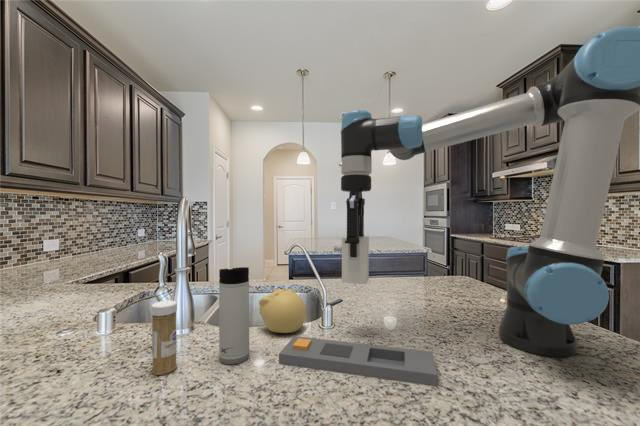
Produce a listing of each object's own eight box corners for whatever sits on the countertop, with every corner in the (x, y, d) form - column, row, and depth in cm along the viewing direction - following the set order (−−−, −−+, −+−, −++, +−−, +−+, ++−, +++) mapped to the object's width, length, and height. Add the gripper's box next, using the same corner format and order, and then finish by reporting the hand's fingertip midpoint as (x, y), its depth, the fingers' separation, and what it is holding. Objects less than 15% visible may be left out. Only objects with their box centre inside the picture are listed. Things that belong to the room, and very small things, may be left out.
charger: (368, 279, 76) (368, 236, 76) (366, 284, 72) (366, 238, 72) (336, 277, 79) (336, 235, 79) (332, 281, 74) (332, 237, 74)
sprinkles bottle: (173, 374, 58) (173, 305, 58) (148, 377, 57) (147, 307, 57) (179, 362, 63) (179, 298, 63) (155, 365, 62) (155, 300, 62)
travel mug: (222, 368, 60) (222, 269, 60) (217, 355, 66) (216, 264, 66) (252, 361, 63) (252, 267, 63) (245, 349, 69) (245, 262, 69)
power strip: (432, 366, 61) (432, 347, 61) (437, 391, 52) (437, 370, 52) (294, 349, 69) (294, 332, 69) (278, 368, 60) (278, 349, 60)
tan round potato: (286, 318, 89) (286, 282, 89) (314, 329, 81) (314, 289, 81) (253, 328, 81) (253, 289, 81) (280, 342, 73) (280, 298, 73)
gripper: (347, 179, 84) (347, 261, 84) (333, 170, 67) (333, 274, 67) (374, 178, 82) (374, 263, 82) (367, 169, 65) (366, 276, 65)
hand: (355, 268), depth 75 cm, fingers closed on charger, 5 cm apart
